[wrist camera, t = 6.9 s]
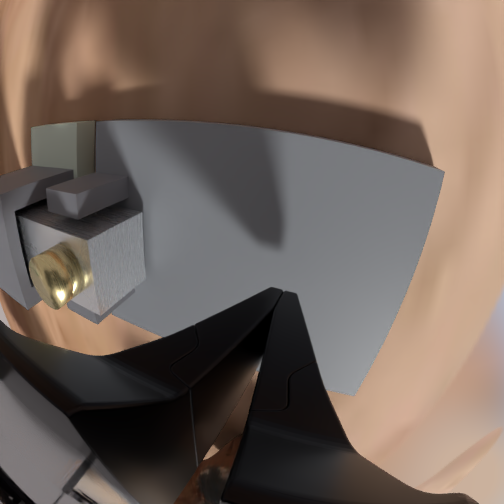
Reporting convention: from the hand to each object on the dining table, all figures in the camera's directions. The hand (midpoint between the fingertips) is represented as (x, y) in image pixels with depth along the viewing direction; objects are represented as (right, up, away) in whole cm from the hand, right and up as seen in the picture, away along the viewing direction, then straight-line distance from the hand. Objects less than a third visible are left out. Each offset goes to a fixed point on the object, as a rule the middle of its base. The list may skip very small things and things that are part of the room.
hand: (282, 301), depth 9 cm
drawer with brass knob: (-9, +3, +3) cm, 10 cm away
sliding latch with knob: (-4, +2, +4) cm, 6 cm away
